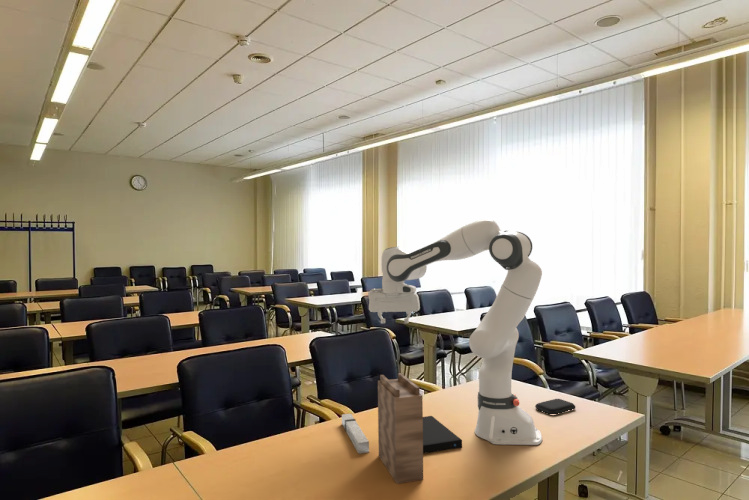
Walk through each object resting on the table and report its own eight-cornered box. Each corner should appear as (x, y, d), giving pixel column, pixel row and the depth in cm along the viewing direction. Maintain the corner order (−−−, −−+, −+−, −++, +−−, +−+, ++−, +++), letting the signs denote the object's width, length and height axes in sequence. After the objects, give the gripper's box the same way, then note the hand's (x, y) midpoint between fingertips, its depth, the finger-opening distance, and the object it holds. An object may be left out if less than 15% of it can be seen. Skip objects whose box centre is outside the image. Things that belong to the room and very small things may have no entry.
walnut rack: (378, 456, 149) (377, 374, 149) (402, 452, 151) (401, 372, 151) (396, 483, 132) (395, 391, 132) (423, 479, 134) (422, 388, 134)
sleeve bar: (341, 424, 176) (341, 414, 176) (351, 423, 177) (351, 413, 177) (358, 454, 151) (357, 442, 151) (369, 452, 152) (369, 441, 152)
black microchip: (555, 403, 198) (530, 409, 191) (555, 396, 198) (530, 402, 191) (577, 410, 189) (552, 417, 181) (577, 403, 189) (552, 409, 181)
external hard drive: (432, 423, 177) (432, 415, 177) (462, 448, 155) (462, 439, 155) (396, 428, 173) (396, 420, 172) (422, 455, 150) (422, 445, 150)
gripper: (366, 289, 186) (367, 324, 186) (417, 288, 181) (418, 324, 181) (370, 288, 192) (371, 322, 192) (419, 287, 187) (421, 322, 187)
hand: (394, 323), depth 186 cm, fingers open, 8 cm apart
